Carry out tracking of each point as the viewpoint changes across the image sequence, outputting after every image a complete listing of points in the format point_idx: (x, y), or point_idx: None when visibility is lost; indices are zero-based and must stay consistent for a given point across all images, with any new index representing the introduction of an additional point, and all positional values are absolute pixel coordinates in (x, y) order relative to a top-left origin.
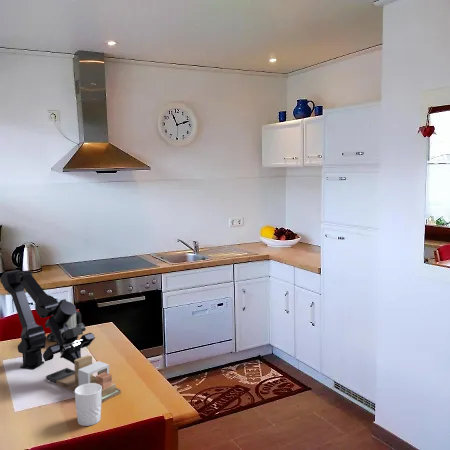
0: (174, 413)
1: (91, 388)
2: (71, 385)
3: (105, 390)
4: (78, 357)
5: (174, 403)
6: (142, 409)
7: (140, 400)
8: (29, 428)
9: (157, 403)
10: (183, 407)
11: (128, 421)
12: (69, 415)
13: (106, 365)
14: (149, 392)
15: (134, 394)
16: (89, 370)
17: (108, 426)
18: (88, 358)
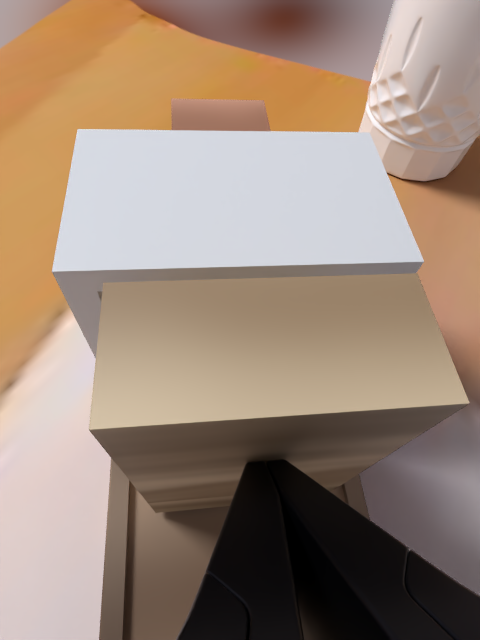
0: (136, 8)
1: (438, 14)
2: None
3: None
4: (288, 553)
5: (72, 31)
6: (188, 73)
7: (133, 111)
8: None
9: (111, 62)
10: (81, 7)
11: (286, 64)
12: (473, 230)
13: (111, 131)
14: (37, 125)
15: None
16: (324, 163)
17: (361, 85)
18: (195, 286)
